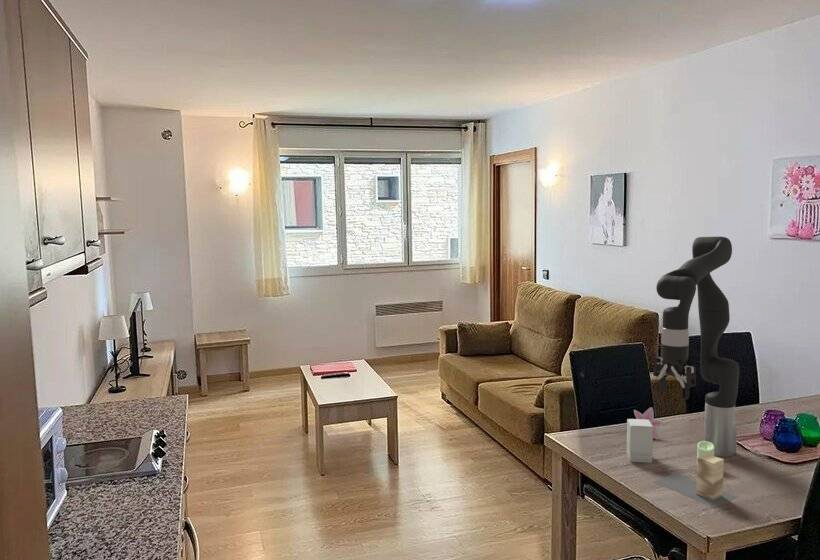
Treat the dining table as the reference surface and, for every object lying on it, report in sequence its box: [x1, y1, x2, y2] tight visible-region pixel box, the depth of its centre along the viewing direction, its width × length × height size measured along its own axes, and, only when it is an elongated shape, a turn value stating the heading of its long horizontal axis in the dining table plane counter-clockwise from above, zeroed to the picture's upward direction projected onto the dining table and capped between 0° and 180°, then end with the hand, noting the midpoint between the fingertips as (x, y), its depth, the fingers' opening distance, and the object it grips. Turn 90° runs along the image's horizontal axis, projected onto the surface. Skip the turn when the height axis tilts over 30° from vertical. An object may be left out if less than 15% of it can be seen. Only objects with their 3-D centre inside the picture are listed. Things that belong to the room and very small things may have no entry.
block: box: [696, 454, 725, 501], centre depth 176 cm, size 5×5×11 cm
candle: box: [696, 440, 714, 459], centre depth 196 cm, size 5×5×8 cm
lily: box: [633, 406, 663, 440], centre depth 226 cm, size 12×12×10 cm
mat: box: [653, 472, 738, 509], centre depth 181 cm, size 20×11×1 cm, turn 32°
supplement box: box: [626, 418, 654, 464], centre depth 205 cm, size 7×7×13 cm
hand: (673, 395), depth 181 cm, fingers open, 8 cm apart
